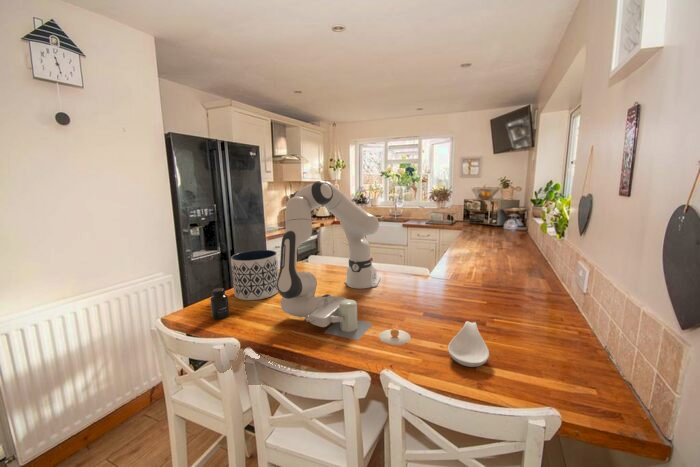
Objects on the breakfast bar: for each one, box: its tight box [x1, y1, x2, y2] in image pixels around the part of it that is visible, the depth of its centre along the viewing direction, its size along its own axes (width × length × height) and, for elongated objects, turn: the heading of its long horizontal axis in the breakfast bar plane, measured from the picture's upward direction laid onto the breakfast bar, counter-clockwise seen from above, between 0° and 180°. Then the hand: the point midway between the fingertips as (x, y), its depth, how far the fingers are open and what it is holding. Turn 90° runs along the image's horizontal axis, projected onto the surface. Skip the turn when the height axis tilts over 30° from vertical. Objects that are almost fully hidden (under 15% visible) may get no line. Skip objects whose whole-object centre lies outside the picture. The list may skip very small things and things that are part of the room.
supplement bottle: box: [209, 287, 230, 320], centre depth 129 cm, size 7×7×12 cm
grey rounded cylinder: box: [339, 299, 358, 332], centre depth 114 cm, size 6×6×10 cm
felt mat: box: [323, 319, 373, 341], centre depth 115 cm, size 14×14×1 cm
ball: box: [390, 327, 399, 337], centre depth 107 cm, size 3×3×3 cm
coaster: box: [378, 328, 412, 346], centre depth 108 cm, size 11×11×1 cm
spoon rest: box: [447, 320, 490, 368], centre depth 98 cm, size 24×12×7 cm, turn 157°
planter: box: [230, 249, 279, 301], centre depth 156 cm, size 22×22×20 cm
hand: (349, 314), depth 114 cm, fingers open, 8 cm apart
